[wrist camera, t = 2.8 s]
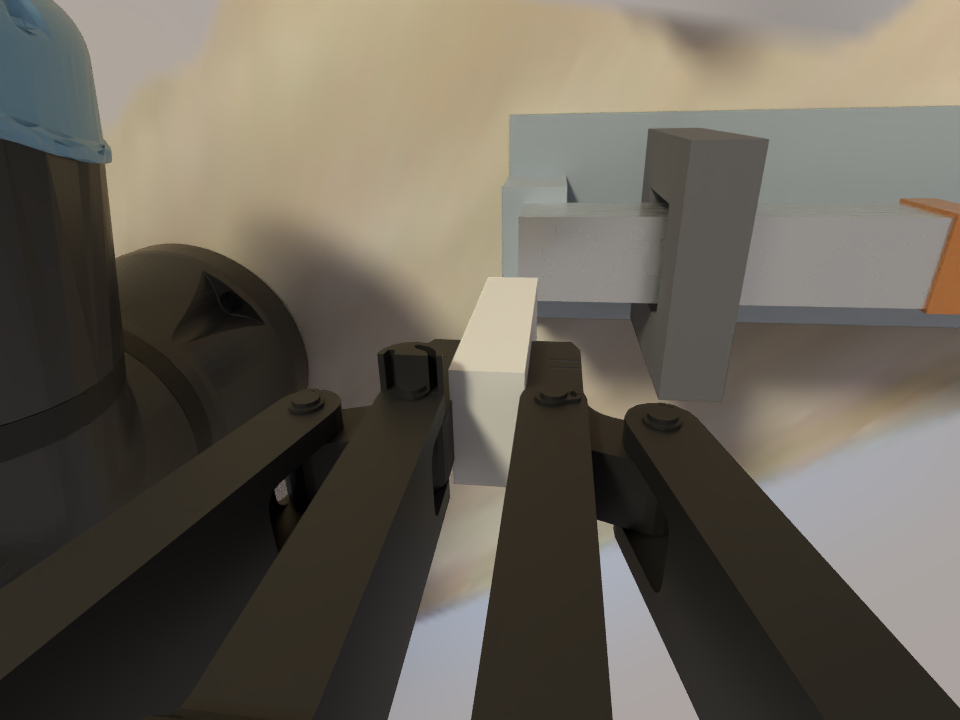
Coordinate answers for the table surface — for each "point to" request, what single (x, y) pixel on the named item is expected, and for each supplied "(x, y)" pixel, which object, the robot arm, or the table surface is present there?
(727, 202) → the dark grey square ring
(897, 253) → the brushed grey beam
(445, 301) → the table surface
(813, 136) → the stand
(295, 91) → the table surface
